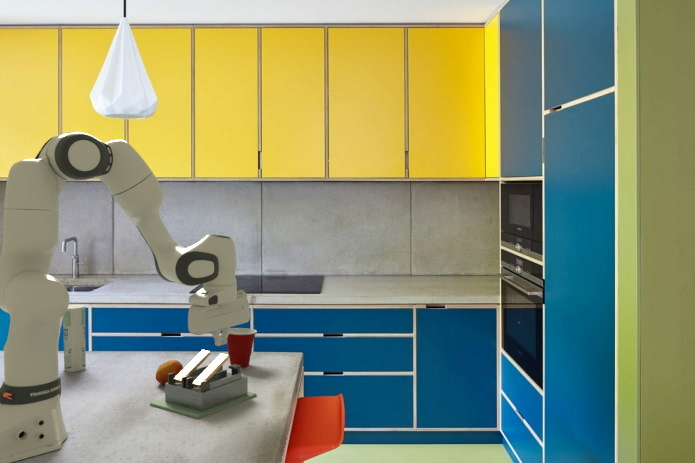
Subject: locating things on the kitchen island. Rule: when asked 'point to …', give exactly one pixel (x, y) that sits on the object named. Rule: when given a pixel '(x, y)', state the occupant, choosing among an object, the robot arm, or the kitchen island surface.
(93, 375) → the kitchen island surface
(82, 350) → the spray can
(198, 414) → the board
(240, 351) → the plastic cup
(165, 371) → the fruit
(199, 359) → the strap far
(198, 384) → the strap near
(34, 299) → the robot arm
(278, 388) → the kitchen island surface
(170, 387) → the grey toaster
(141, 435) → the kitchen island surface
